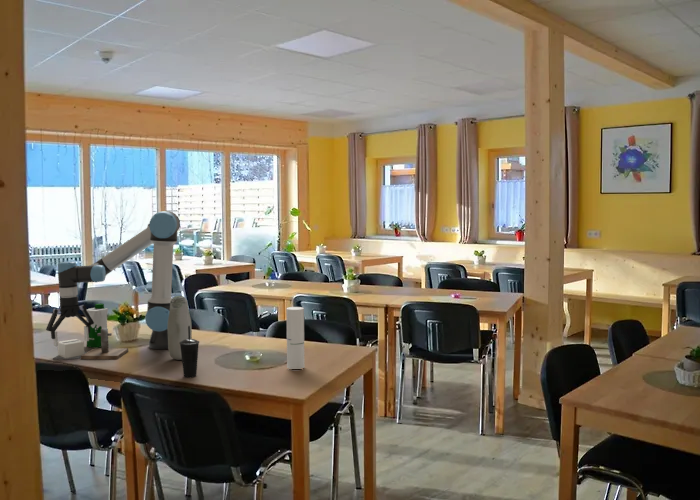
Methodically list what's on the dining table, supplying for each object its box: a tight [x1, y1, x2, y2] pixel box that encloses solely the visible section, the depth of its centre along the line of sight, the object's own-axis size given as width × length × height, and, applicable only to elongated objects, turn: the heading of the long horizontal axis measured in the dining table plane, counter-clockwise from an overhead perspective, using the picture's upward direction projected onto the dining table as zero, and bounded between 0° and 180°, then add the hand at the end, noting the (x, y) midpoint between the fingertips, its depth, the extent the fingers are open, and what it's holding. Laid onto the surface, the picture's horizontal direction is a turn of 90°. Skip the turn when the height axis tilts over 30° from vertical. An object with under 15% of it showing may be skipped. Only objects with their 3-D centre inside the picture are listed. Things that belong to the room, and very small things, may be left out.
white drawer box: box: [57, 338, 85, 358], centre depth 285 cm, size 8×8×6 cm
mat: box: [52, 351, 88, 360], centre depth 285 cm, size 11×11×1 cm
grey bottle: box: [167, 295, 193, 361], centre depth 278 cm, size 10×10×28 cm
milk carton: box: [85, 303, 109, 349], centre depth 305 cm, size 9×9×20 cm
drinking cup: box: [179, 326, 200, 379], centre depth 251 cm, size 8×8×20 cm
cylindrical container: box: [285, 306, 305, 370], centre depth 262 cm, size 7×7×25 cm
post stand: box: [80, 327, 129, 360], centre depth 286 cm, size 16×14×12 cm
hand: (71, 343), depth 285 cm, fingers open, 13 cm apart
